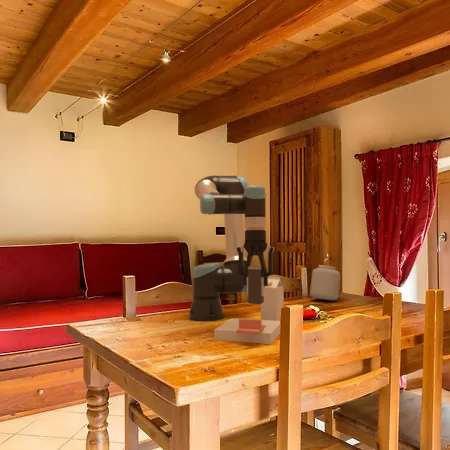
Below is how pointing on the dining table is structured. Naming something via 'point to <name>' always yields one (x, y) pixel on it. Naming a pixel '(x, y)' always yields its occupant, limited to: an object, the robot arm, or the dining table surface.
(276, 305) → the milk carton
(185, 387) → the dining table surface
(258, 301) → the plug
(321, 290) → the jar
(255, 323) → the salmon red stepped block
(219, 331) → the socket plate
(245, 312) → the dining table surface
